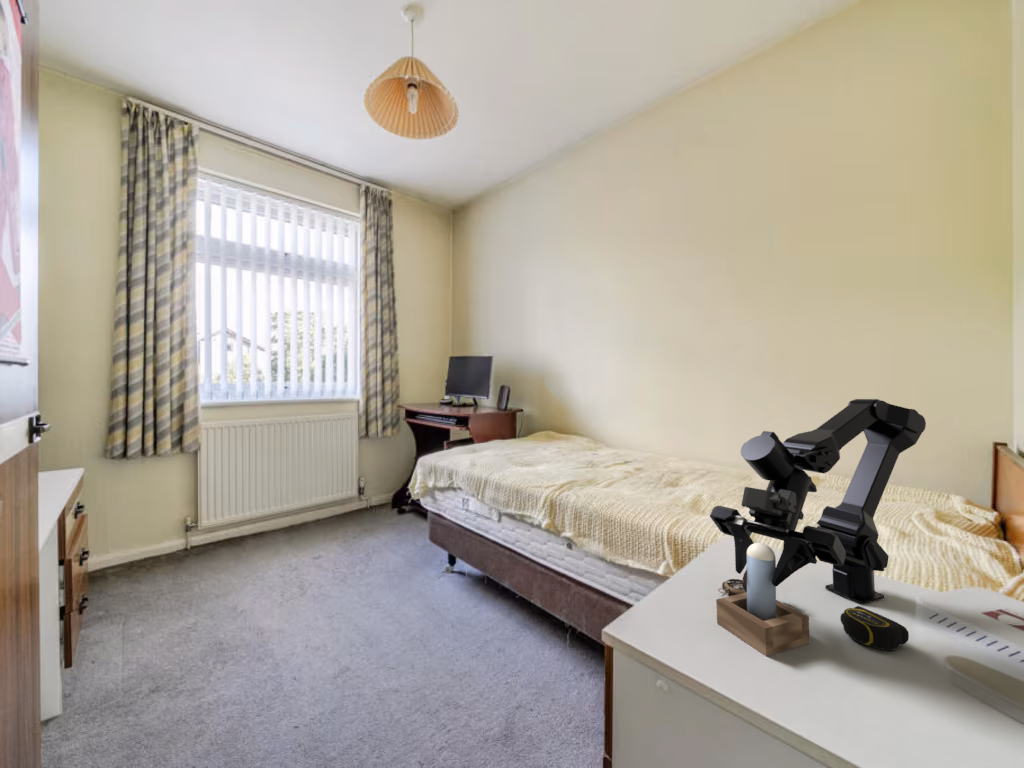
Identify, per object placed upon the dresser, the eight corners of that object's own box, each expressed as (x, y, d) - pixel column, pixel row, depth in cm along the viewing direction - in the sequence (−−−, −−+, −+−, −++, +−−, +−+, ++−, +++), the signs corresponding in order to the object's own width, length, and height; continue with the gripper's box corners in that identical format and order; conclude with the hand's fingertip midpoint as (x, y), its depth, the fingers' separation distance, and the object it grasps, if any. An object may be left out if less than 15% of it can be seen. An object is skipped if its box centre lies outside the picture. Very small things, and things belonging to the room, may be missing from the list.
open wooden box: (757, 612, 71) (756, 589, 71) (809, 642, 62) (808, 616, 62) (717, 623, 68) (716, 599, 68) (766, 656, 59) (765, 628, 59)
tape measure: (912, 649, 60) (911, 624, 60) (881, 660, 58) (880, 633, 58) (860, 625, 67) (860, 602, 67) (831, 633, 65) (830, 609, 65)
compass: (738, 582, 82) (737, 546, 82) (774, 601, 75) (773, 561, 75) (706, 588, 80) (705, 551, 80) (740, 609, 72) (739, 568, 72)
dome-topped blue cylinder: (759, 617, 68) (759, 538, 68) (782, 630, 64) (781, 546, 64) (741, 621, 66) (740, 540, 67) (763, 634, 63) (762, 548, 63)
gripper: (713, 461, 76) (679, 533, 69) (835, 477, 60) (806, 572, 54) (737, 497, 80) (707, 568, 73) (856, 520, 64) (831, 613, 58)
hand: (755, 578), depth 64 cm, fingers open, 5 cm apart
